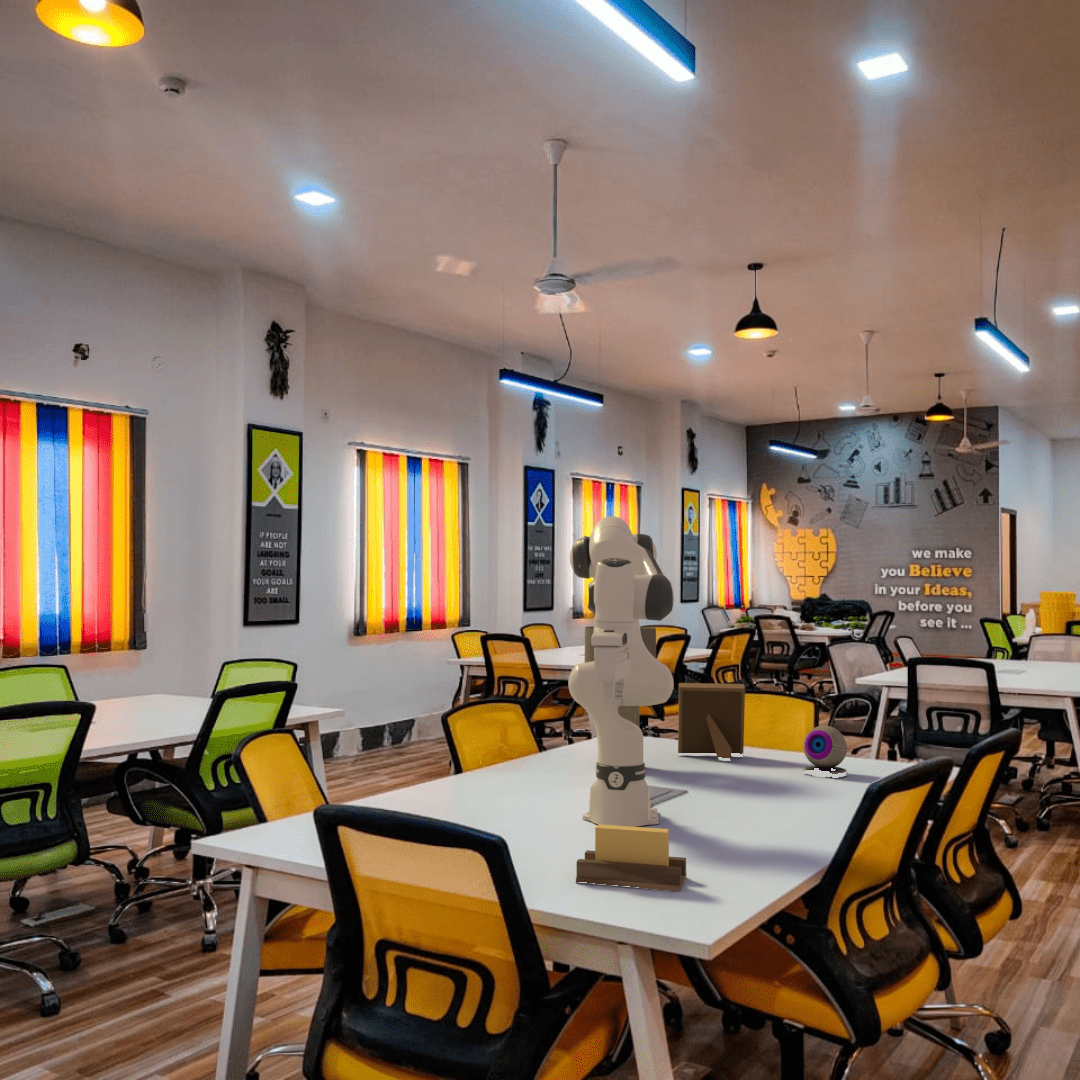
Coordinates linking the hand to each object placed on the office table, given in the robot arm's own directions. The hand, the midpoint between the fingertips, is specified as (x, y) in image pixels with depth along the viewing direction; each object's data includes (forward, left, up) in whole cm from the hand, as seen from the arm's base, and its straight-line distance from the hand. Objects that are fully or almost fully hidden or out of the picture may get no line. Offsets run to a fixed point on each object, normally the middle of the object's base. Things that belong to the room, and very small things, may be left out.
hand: (614, 702), depth 218 cm
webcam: (-121, +42, -33) cm, 132 cm away
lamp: (-114, -21, -33) cm, 121 cm away
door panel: (+12, +6, -32) cm, 35 cm away
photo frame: (-141, +5, -33) cm, 145 cm away
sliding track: (+12, +6, -33) cm, 36 cm away
